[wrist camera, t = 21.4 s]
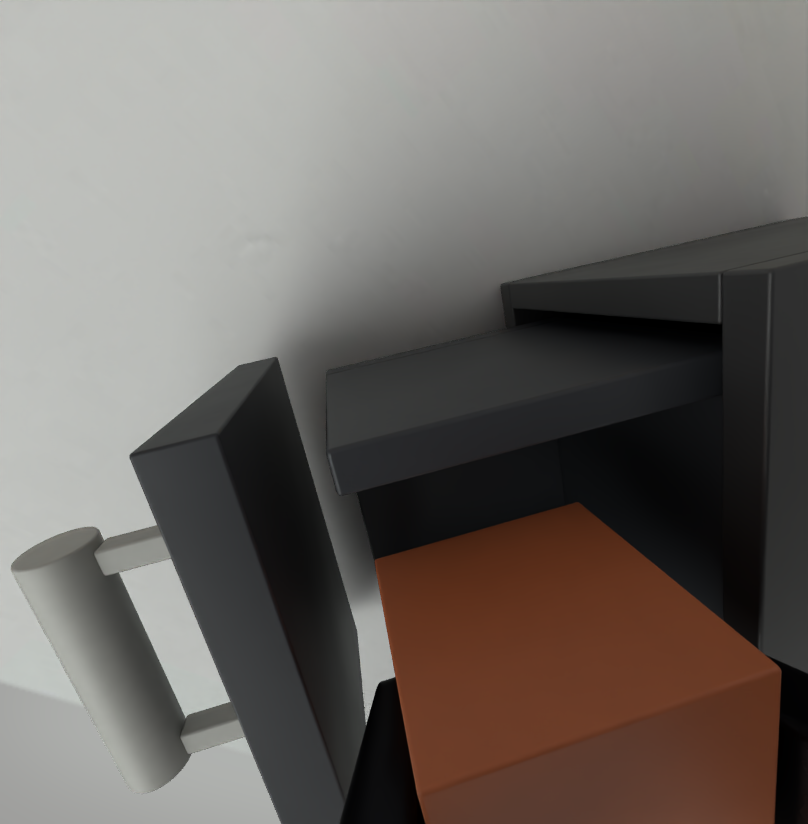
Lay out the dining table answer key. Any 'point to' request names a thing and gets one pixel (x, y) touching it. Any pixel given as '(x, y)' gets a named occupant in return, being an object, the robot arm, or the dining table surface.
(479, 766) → the block
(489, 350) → the drawer
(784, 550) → the cabinet
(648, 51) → the dining table surface
